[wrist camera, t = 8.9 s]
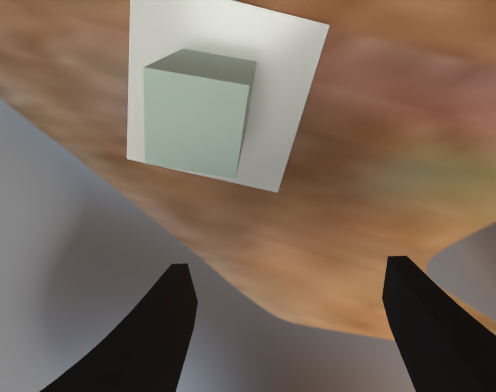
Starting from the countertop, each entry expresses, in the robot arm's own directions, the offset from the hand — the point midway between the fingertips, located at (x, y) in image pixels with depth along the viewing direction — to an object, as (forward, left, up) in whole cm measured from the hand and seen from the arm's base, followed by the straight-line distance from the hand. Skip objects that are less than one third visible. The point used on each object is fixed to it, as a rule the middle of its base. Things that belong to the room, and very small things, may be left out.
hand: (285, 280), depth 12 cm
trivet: (+5, -3, -10) cm, 12 cm away
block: (+5, -3, -10) cm, 11 cm away
